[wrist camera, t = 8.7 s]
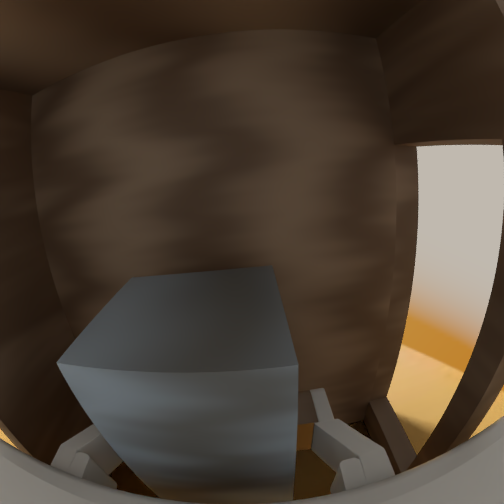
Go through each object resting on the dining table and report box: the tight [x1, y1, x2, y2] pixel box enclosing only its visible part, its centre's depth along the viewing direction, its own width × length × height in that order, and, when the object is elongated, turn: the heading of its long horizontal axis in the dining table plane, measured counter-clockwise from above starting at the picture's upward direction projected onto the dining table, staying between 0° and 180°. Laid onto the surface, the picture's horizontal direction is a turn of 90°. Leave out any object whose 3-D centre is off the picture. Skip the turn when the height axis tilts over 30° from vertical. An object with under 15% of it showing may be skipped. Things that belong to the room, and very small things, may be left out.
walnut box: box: [0, 0, 504, 476], centre depth 8 cm, size 18×8×22 cm, turn 91°
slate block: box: [56, 265, 298, 504], centre depth 8 cm, size 5×5×12 cm
